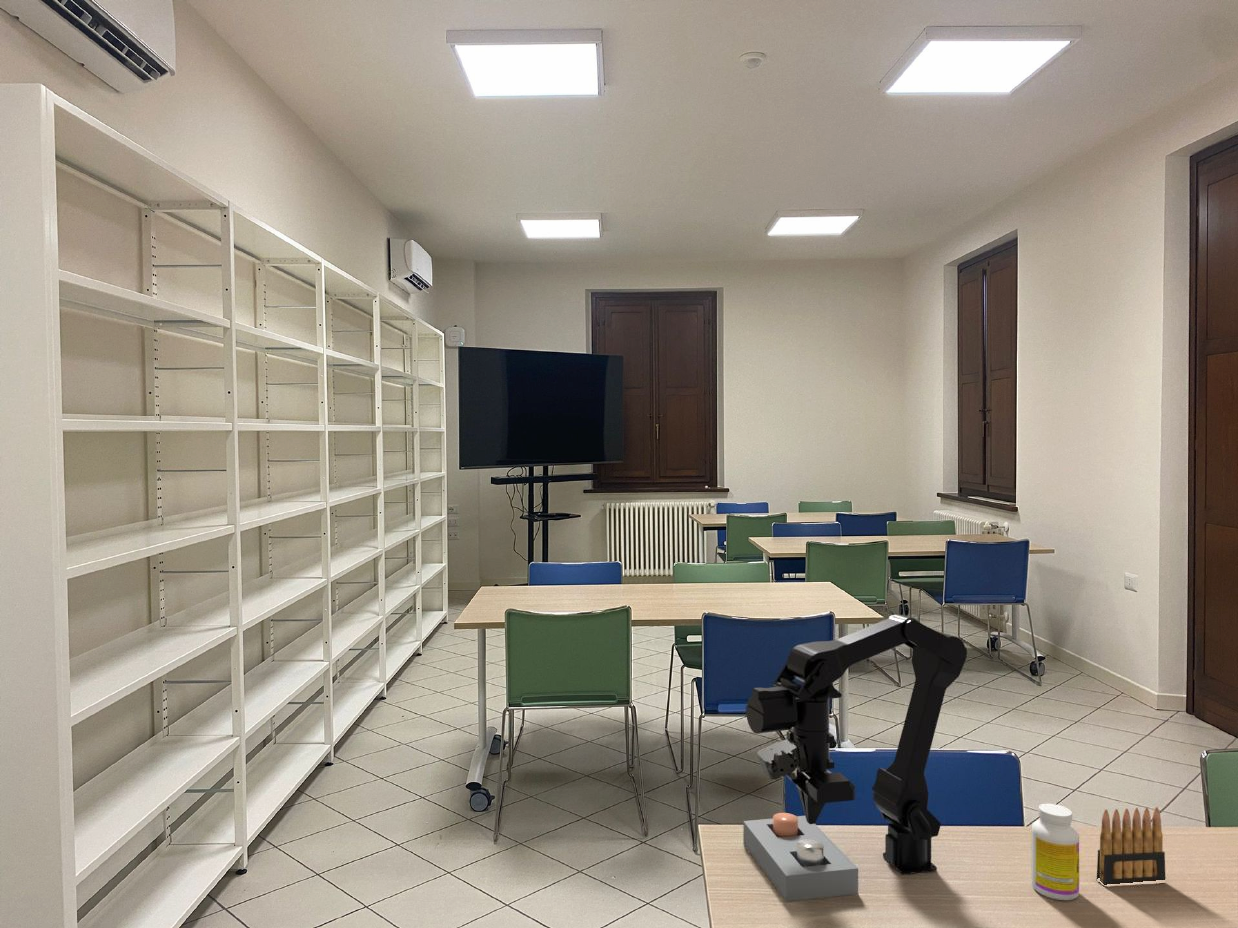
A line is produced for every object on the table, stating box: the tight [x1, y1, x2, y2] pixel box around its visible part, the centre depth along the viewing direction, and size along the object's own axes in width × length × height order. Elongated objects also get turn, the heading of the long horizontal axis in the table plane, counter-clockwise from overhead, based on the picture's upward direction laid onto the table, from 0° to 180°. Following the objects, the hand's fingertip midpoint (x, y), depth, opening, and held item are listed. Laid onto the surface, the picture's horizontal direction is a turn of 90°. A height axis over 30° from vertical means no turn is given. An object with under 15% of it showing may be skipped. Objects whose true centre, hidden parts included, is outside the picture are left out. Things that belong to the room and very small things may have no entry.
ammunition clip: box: [1096, 806, 1167, 885], centre depth 129 cm, size 11×2×12 cm, turn 96°
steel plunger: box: [797, 839, 824, 867], centre depth 129 cm, size 4×4×3 cm
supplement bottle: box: [1030, 803, 1080, 901], centre depth 126 cm, size 7×7×13 cm
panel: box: [742, 815, 859, 903], centre depth 134 cm, size 12×19×4 cm, turn 11°
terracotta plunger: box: [772, 812, 798, 838], centre depth 138 cm, size 4×4×3 cm
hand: (810, 822), depth 129 cm, fingers closed
